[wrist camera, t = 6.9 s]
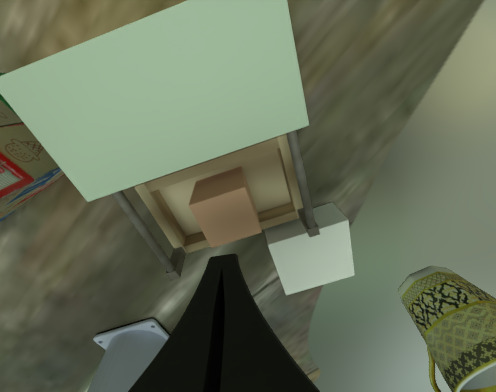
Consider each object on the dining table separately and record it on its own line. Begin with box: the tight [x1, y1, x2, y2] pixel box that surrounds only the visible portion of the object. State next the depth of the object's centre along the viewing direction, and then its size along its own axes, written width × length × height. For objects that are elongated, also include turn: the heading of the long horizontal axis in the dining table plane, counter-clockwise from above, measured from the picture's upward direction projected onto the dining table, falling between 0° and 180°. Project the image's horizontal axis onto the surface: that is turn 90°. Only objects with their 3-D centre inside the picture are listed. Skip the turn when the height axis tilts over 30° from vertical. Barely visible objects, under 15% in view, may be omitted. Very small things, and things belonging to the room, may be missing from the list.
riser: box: [264, 202, 354, 295], centre depth 21 cm, size 7×7×3 cm
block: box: [189, 166, 262, 248], centre depth 17 cm, size 4×4×4 cm
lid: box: [0, 0, 309, 202], centre depth 11 cm, size 6×13×1 cm, turn 108°
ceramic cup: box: [398, 266, 496, 392], centre depth 24 cm, size 13×10×10 cm
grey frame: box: [112, 130, 320, 280], centre depth 16 cm, size 13×13×5 cm
